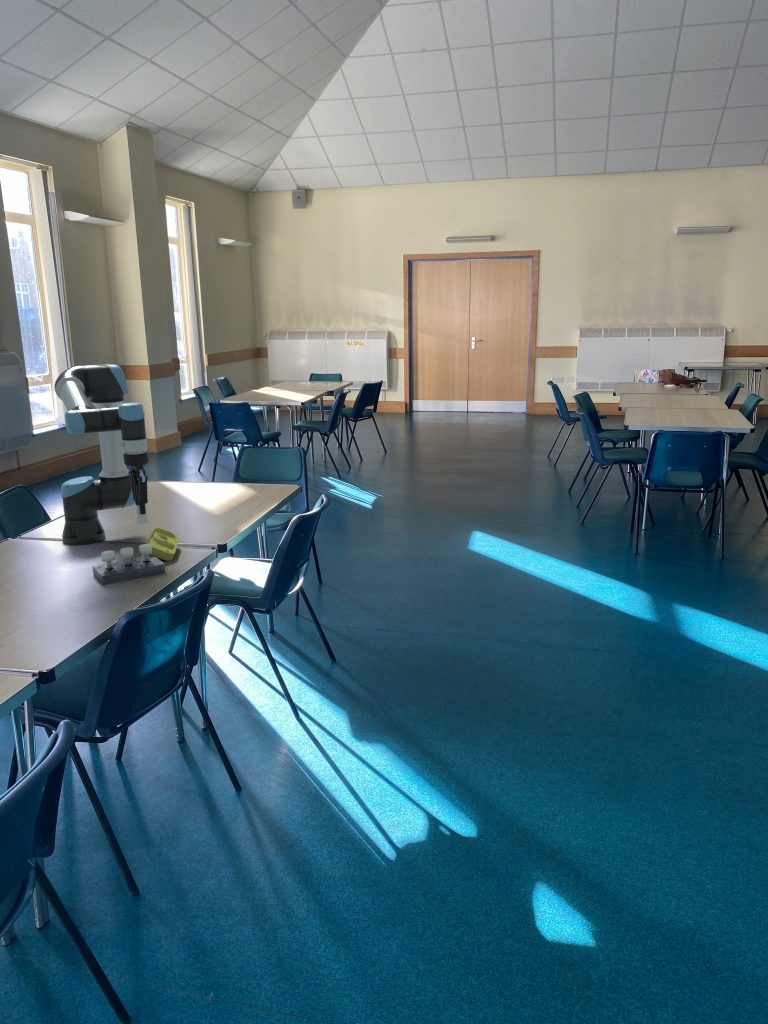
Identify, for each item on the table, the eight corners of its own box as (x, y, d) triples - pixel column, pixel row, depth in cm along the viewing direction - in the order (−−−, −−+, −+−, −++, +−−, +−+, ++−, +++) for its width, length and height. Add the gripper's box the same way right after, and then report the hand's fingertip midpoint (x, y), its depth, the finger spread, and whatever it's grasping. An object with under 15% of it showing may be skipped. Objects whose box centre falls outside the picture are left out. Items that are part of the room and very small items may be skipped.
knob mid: (120, 564, 247) (118, 548, 246) (132, 561, 249) (131, 546, 248) (123, 567, 244) (122, 551, 242) (136, 564, 246) (134, 549, 245)
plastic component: (174, 555, 258) (146, 545, 255) (167, 573, 260) (138, 563, 257) (179, 534, 277) (152, 525, 274) (172, 552, 278) (145, 542, 276)
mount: (93, 574, 247) (92, 566, 246) (154, 563, 257) (153, 554, 257) (102, 585, 237) (101, 576, 236) (165, 572, 248) (164, 563, 247)
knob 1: (101, 567, 244) (99, 552, 242) (114, 565, 246) (112, 549, 245) (104, 570, 241) (103, 555, 239) (117, 568, 243) (115, 552, 241)
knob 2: (138, 560, 250) (137, 545, 249) (150, 558, 252) (149, 543, 251) (142, 563, 247) (140, 548, 246) (154, 561, 249) (153, 546, 248)
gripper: (117, 450, 243) (125, 520, 249) (129, 456, 233) (137, 529, 239) (141, 447, 247) (148, 517, 253) (153, 453, 237) (160, 525, 243)
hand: (142, 523), depth 246 cm, fingers closed
